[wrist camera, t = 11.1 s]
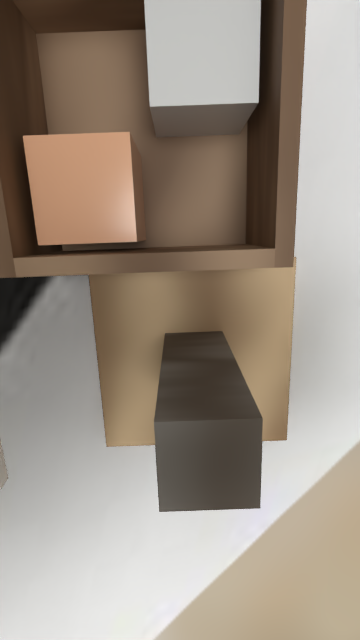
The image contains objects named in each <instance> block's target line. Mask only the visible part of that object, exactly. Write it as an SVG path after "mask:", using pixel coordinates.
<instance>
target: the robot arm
mask: <svg viewBox="0 0 360 640" xmlns="http://www.w3.org/2000/svg"><path fill="white" fill-rule="evenodd" d="M7 479H8V474H7V469H6V465H5V460H4V455H3V450H2V445H1V440H0V490H1V488H2V487H3V485H4V484H5V482H6V481H7Z"/></svg>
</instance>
